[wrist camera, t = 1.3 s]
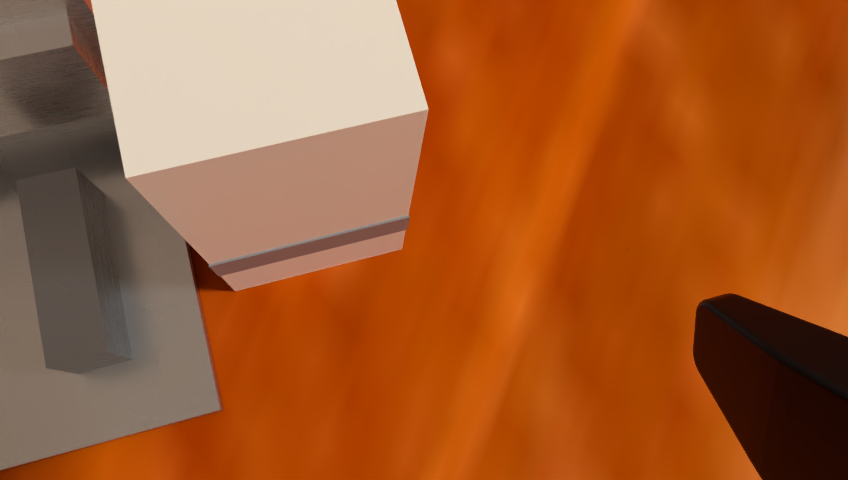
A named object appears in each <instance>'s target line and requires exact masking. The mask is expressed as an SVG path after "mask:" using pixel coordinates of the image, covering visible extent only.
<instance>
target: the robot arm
mask: <svg viewBox="0 0 848 480" xmlns="http://www.w3.org/2000/svg"><path fill="white" fill-rule="evenodd" d="M693 356H694V361H695V364H696V367H697V369H698V371H699V373H700V375H701V376H702V378H703V380H704V382H705V383H706V385H707V387H708V389H709V390H710V392H711V394H712V395H713V397H714V399H715V401H716V402H717V404H718V406H719V408H720V409H721V411H722V413H723V414H724V416H725V418H726V420H727V421H728V423H729V425H730V427H731V428H732V430H733V432H734V433H735V435H736V437H737V439H738V440H739V442H740V444H741V446H742V447H743V449H744V451H745V452H746V454H747V456H748V458H749V459H750V461H751V462H752V464H753V466H754V467H755V469H756V471H757V472H758V474H759V475H760V477H761V478H762V480H848V337H847V336H844V335H842V334H839V333H836V332H834V331H831V330H829V329H826V328H823V327H821V326H818V325H815V324H813V323H810V322H807V321H805V320H802V319H800V318H797V317H794V316H792V315H789V314H786V313H784V312H781V311H779V310H776V309H773V308H771V307H768V306H765V305H763V304H760V303H758V302H755V301H752V300H750V299H747V298H744V297H742V296H739V295H736V294H731V293H730V294H723V295H720V296H716V297H713V298H709V299H705V300H703V301H701V302H700V303H699V305H698V307H697V310H696V319H695V332H694V345H693Z"/></svg>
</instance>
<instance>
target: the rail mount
mask: <svg viewBox="0 0 848 480" xmlns="http://www.w3.org/2000/svg"><path fill="white" fill-rule="evenodd" d="M222 410H223V407H222V402H221V397H220V392H219V387H218V383H217V378H216V373H215V368H214V364H213V359H212V354H211V349H210V345H209V340H208V335H207V330H206V325H205V321H204V316H203V311H202V306H201V302H200V297H199V292H198V287H197V283H196V278H195V273H194V268H193V263H192V259H191V254H190V249H189V244H188V242H187V241H186V240H185V239H184V238H183V237H182V236H181V235H180V234H179V233H178V232H177V231H176V230H175V229H174V228H173V227H172V226H171V225H170V224H169V223H168V222H167V221H166V220H165V218H164V217H163V216H162V215H161V214H160V213H159V212H158V211H157V210H156V209H155V208H154V207H153V206H152V205H151V204H150V203H149V202H148V201H147V200H146V199H145V198H144V197H143V196H142V195H141V194H140V193H139V192H138V191H137V190H136V189H135V188H134V186H133V185H132V184H131V183H130V182H129V181H128V180H127V179H126V178H125V173H124V168H123V163H122V158H121V153H120V148H119V142H118V137H117V132H116V127H115V122H114V117H113V111H112V106H111V101H110V96H109V91H108V86H107V80H106V75H105V70H104V65H103V60H102V55H101V50H100V44H99V39H98V34H97V29H96V24H95V19H94V13H93V8H92V3H91V0H0V471H3V470H6V469H10V468H14V467H17V466H21V465H25V464H28V463H32V462H36V461H39V460H43V459H47V458H50V457H54V456H57V455H61V454H65V453H68V452H72V451H76V450H79V449H83V448H87V447H90V446H94V445H98V444H101V443H105V442H109V441H112V440H116V439H120V438H123V437H127V436H131V435H134V434H138V433H142V432H145V431H149V430H153V429H156V428H160V427H163V426H167V425H171V424H174V423H178V422H182V421H185V420H189V419H193V418H196V417H200V416H204V415H207V414H211V413H215V412H218V411H222Z"/></svg>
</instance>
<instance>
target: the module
mask: <svg viewBox="0 0 848 480" xmlns="http://www.w3.org/2000/svg"><path fill="white" fill-rule="evenodd" d="M91 3H92V8H93V13H94V19H95V24H96V29H97V34H98V39H99V44H100V50H101V55H102V60H103V65H104V70H105V75H106V80H107V86H108V91H109V96H110V101H111V106H112V111H113V117H114V122H115V127H116V132H117V137H118V142H119V148H120V153H121V158H122V163H123V168H124V173H125V178H126V179H127V180H128V181H129V182H130V183H131V184H132V185H133V186H134V188H135V189H136V190H137V191H138V192H139V193H140V194H141V195H142V196H143V197H144V198H145V199H146V200H147V201H148V202H149V203H150V204H151V205H152V206H153V207H154V208H155V209H156V210H157V211H158V212H159V213H160V214H161V215H162V216H163V217H164V218H165V220H166V221H167V222H168V223H169V224H170V225H171V226H172V227H173V228H174V229H175V230H176V231H177V232H178V233H179V234H180V235H181V236H182V237H183V238H184V239H185V240H186V241H187V242H188V243H189V244H190V245H191V246H192V247H193V248H194V249H195V250H196V252H197V253H198V254H199V255H200V256H201V257H202V258H203V259H204V260H205V261H206V262H207V263H208V265H209V267H210V269H211V270H212V271H213V272H214V273H215V274H216V275H217V276H218V277H219V276H221V277H222V278H223V279H224V280H225V281H226V282H227V284H228V285H229V286H230V287H231V288H232V289H233V290H234V291H238V290H242V289H246V288H250V287H254V286H258V285H262V284H266V283H270V282H274V281H278V280H282V279H286V278H290V277H294V276H298V275H302V274H306V273H310V272H314V271H318V270H321V269H325V268H329V267H333V266H337V265H341V264H345V263H349V262H353V261H357V260H361V259H365V258H369V257H373V256H377V255H381V254H385V253H389V252H393V251H397V250H401V249H402V246H403V241H404V236H405V230H407V228H408V223H409V218H410V217H409V209H410V204H411V199H412V193H413V188H414V183H415V178H416V172H417V167H418V162H419V157H420V151H421V146H422V141H423V135H424V130H425V125H426V120H427V114H428V106H427V103H426V99H425V96H424V93H423V89H422V86H421V83H420V79H419V76H418V73H417V69H416V66H415V62H414V59H413V56H412V52H411V49H410V46H409V42H408V39H407V36H406V32H405V29H404V26H403V22H402V19H401V16H400V12H399V9H398V5H397V2H396V0H91Z"/></svg>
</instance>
